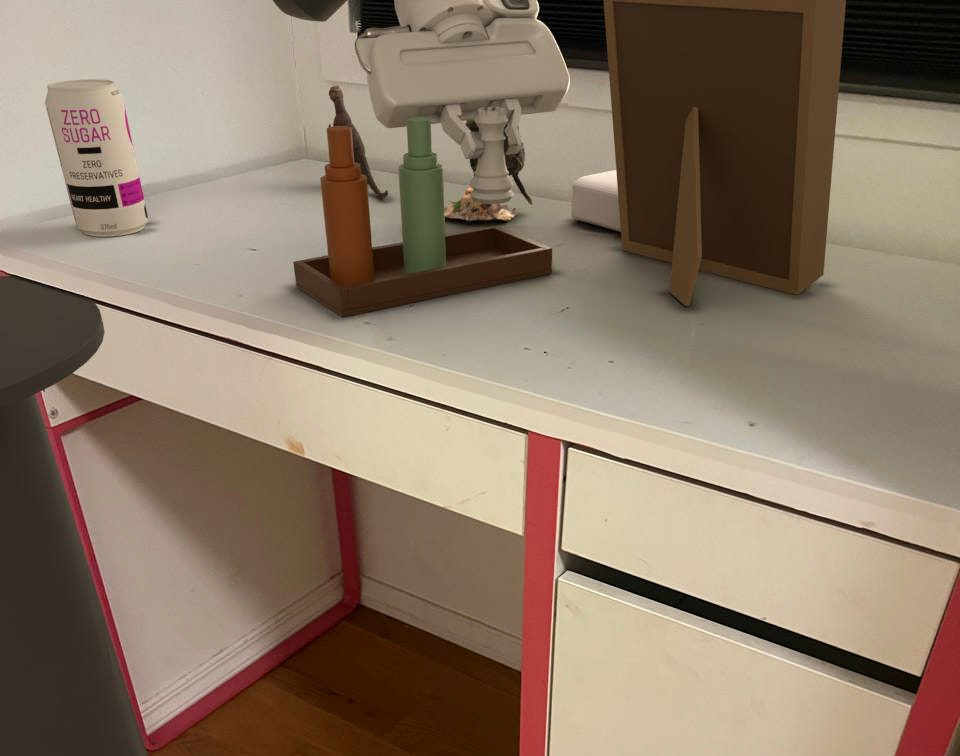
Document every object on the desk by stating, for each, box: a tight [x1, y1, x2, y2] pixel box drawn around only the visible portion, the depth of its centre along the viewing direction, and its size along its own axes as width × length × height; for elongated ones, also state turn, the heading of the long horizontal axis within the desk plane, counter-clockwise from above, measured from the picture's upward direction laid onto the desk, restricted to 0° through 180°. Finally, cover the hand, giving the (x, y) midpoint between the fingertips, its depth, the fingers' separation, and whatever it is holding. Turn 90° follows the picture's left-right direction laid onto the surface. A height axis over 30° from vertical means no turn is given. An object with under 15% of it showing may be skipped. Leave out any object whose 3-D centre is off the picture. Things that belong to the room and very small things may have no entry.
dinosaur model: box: [327, 85, 389, 199], centre depth 123 cm, size 4×12×15 cm
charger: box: [570, 169, 621, 233], centre depth 109 cm, size 5×9×15 cm
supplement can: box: [44, 78, 149, 238], centre depth 109 cm, size 8×8×15 cm
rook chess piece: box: [469, 107, 515, 205], centre depth 93 cm, size 4×4×8 cm
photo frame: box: [603, 0, 847, 307], centre depth 88 cm, size 15×22×25 cm
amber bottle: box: [319, 125, 375, 286], centre depth 88 cm, size 4×4×14 cm
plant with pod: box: [444, 120, 534, 222], centre depth 109 cm, size 8×11×20 cm
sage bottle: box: [397, 117, 446, 274], centre depth 92 cm, size 4×4×14 cm
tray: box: [292, 225, 553, 318], centre depth 95 cm, size 24×11×2 cm, turn 122°
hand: (494, 152), depth 92 cm, fingers closed on rook chess piece, 3 cm apart
